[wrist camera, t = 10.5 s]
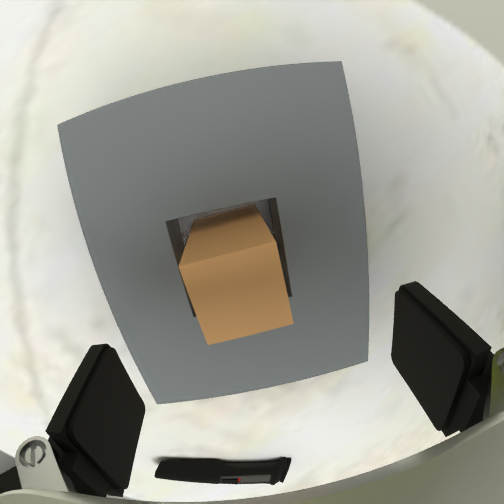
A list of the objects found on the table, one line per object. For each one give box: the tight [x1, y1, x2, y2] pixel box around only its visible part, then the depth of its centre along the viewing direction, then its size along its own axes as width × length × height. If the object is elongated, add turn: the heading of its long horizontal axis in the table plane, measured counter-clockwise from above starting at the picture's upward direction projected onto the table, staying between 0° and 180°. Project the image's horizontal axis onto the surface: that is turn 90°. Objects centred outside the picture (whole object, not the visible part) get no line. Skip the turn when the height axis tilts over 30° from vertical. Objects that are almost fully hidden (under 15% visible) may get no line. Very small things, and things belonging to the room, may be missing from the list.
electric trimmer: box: [155, 457, 291, 485], centre depth 28 cm, size 4×16×3 cm, turn 83°
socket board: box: [57, 61, 369, 404], centre depth 19 cm, size 16×20×4 cm
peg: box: [179, 204, 294, 345], centre depth 17 cm, size 4×4×8 cm
